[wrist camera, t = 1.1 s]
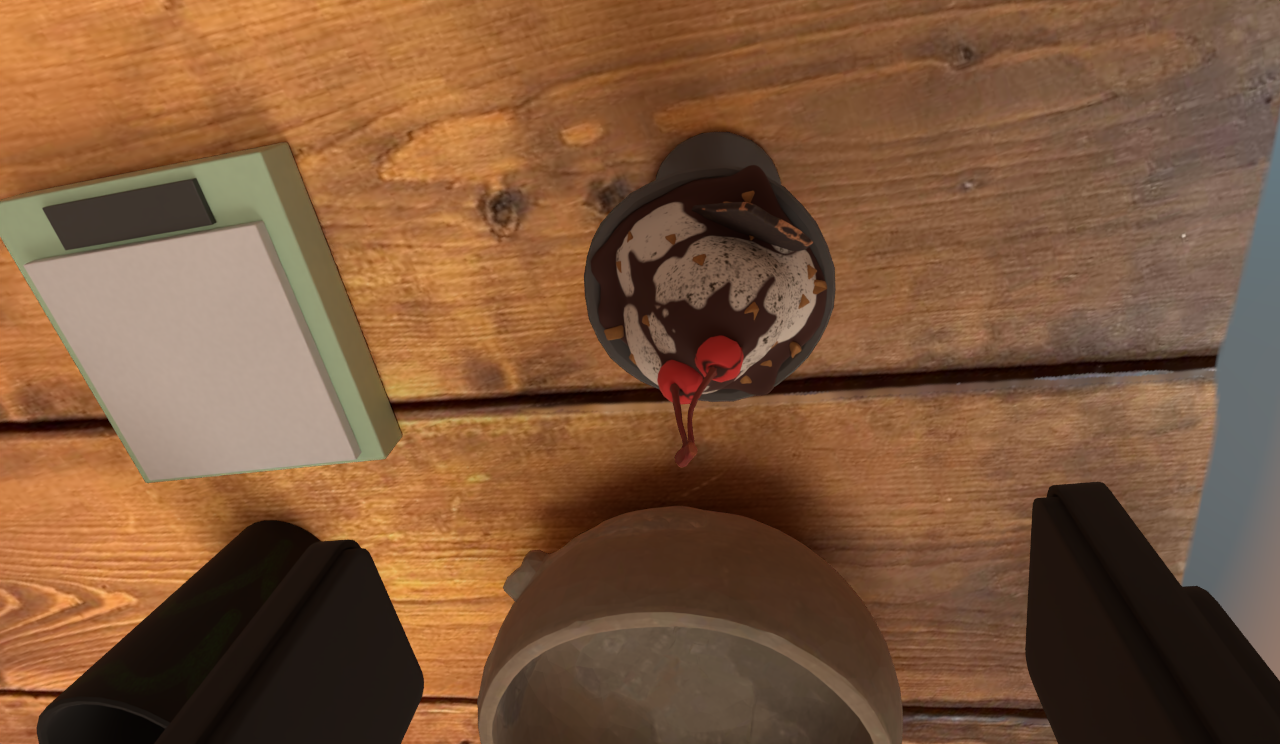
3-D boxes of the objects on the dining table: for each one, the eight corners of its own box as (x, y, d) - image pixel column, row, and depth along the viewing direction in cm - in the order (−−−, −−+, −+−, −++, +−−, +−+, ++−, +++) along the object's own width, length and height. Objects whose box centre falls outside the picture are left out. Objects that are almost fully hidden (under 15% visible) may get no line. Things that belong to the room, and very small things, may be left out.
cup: (194, 511, 40) (-4, 703, 29) (320, 497, 38) (160, 694, 27) (256, 616, 43) (99, 823, 32) (374, 607, 41) (250, 820, 31)
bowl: (462, 532, 38) (378, 697, 29) (776, 392, 32) (790, 547, 23) (635, 737, 44) (610, 926, 35) (927, 651, 38) (984, 853, 29)
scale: (22, 193, 32) (-33, 209, 30) (288, 141, 29) (250, 154, 27) (172, 460, 38) (136, 491, 36) (403, 436, 36) (380, 467, 33)
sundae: (676, 304, 31) (631, 545, 18) (602, 155, 28) (484, 305, 15) (829, 241, 29) (908, 459, 16) (764, 75, 26) (791, 166, 13)
